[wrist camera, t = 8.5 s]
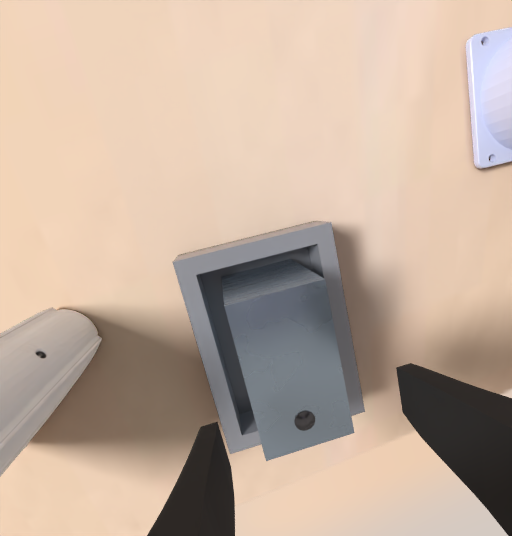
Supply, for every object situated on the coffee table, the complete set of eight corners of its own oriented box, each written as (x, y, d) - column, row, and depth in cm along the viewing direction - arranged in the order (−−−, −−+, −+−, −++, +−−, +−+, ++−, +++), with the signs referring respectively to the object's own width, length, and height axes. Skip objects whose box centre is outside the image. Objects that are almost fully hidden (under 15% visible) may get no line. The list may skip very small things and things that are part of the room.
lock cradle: (314, 221, 19) (331, 222, 16) (346, 386, 22) (364, 411, 19) (178, 254, 18) (172, 262, 16) (228, 422, 21) (230, 454, 18)
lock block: (290, 258, 19) (325, 279, 13) (314, 369, 20) (354, 433, 14) (221, 276, 18) (224, 306, 12) (251, 388, 20) (266, 461, 14)
